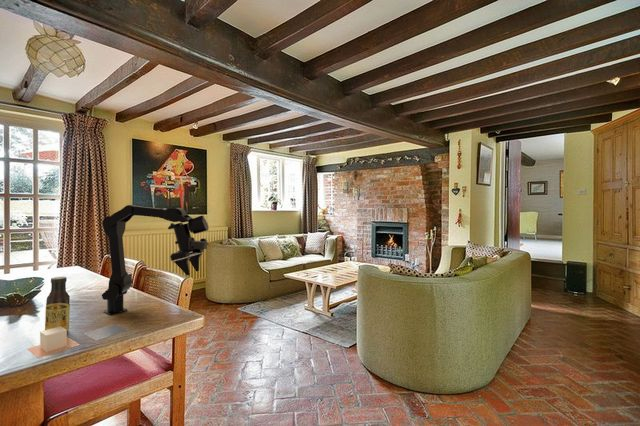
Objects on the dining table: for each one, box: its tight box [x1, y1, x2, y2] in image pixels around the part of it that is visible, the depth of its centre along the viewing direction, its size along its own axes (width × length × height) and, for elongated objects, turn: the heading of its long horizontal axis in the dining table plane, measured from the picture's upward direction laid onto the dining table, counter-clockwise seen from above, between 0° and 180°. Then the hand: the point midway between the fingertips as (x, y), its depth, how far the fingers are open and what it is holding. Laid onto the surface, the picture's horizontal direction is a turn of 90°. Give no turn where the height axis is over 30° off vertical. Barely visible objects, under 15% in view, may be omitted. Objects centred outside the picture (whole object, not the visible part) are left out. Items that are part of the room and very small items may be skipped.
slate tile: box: [82, 323, 130, 342], centre depth 106 cm, size 10×10×1 cm
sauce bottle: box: [44, 276, 71, 335], centre depth 104 cm, size 6×6×20 cm
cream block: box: [39, 326, 68, 352], centre depth 95 cm, size 5×5×5 cm
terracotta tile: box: [26, 336, 81, 359], centre depth 95 cm, size 10×10×1 cm
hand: (193, 273), depth 129 cm, fingers open, 9 cm apart
